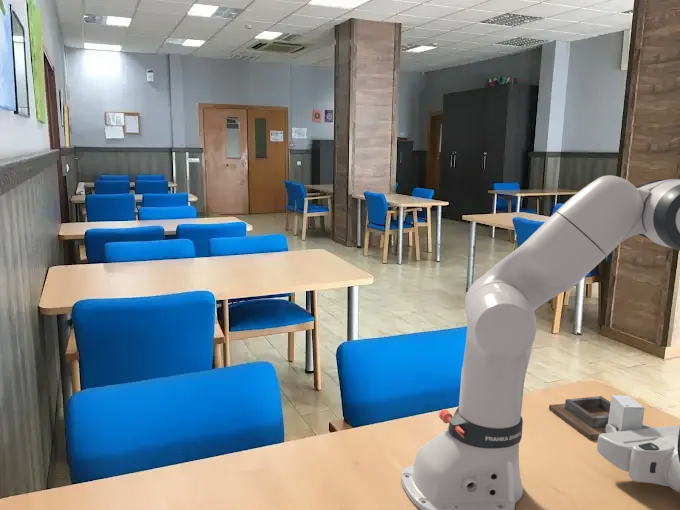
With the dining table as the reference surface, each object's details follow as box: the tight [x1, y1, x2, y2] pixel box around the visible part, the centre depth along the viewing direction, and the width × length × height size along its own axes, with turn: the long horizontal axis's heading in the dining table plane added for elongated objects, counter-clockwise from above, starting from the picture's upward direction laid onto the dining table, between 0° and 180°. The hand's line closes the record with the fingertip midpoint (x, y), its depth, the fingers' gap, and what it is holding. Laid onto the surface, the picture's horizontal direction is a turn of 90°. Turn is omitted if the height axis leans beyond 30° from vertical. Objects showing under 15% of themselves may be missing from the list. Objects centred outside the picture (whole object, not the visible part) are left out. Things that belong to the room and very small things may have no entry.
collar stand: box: [548, 395, 611, 441], centre depth 133 cm, size 15×15×4 cm
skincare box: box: [608, 394, 645, 432], centre depth 118 cm, size 6×4×12 cm
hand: (621, 425), depth 119 cm, fingers closed on skincare box, 5 cm apart
